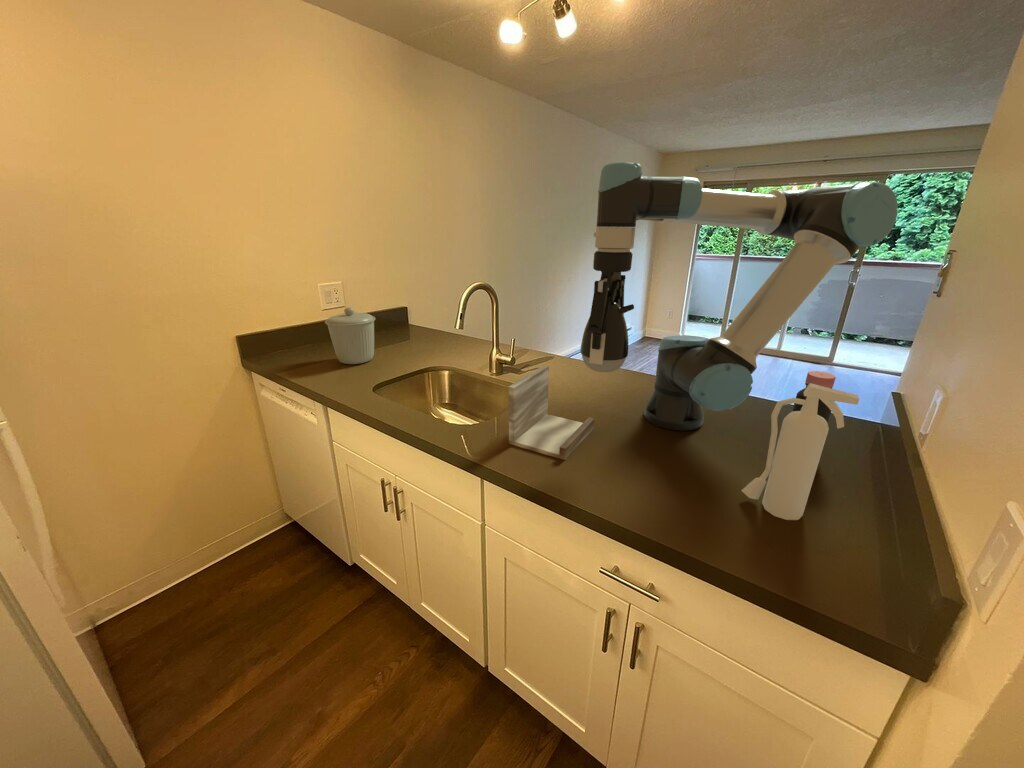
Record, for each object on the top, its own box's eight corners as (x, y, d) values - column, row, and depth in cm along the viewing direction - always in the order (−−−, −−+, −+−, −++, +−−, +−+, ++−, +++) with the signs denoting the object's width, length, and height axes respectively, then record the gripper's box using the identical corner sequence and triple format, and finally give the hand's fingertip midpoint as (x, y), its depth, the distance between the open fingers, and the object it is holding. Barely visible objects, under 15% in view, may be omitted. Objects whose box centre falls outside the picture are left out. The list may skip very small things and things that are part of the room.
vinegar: (775, 448, 99) (795, 369, 92) (804, 449, 99) (827, 369, 92) (792, 464, 93) (815, 380, 86) (823, 464, 93) (849, 380, 85)
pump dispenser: (629, 378, 87) (637, 304, 81) (578, 374, 88) (583, 303, 83) (625, 363, 96) (632, 296, 91) (579, 360, 98) (584, 295, 92)
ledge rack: (593, 428, 109) (597, 375, 104) (565, 460, 95) (568, 399, 89) (542, 416, 116) (543, 365, 111) (508, 443, 102) (508, 386, 96)
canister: (390, 358, 167) (384, 305, 159) (352, 371, 153) (343, 314, 145) (360, 351, 176) (353, 301, 168) (322, 363, 162) (312, 309, 154)
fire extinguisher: (741, 486, 85) (773, 372, 75) (812, 508, 79) (858, 387, 69) (737, 505, 79) (771, 384, 69) (813, 530, 73) (862, 402, 63)
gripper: (611, 247, 94) (603, 342, 102) (575, 252, 76) (568, 368, 84) (645, 248, 91) (633, 346, 99) (616, 254, 72) (604, 374, 80)
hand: (603, 356), depth 91 cm, fingers closed on pump dispenser, 10 cm apart
